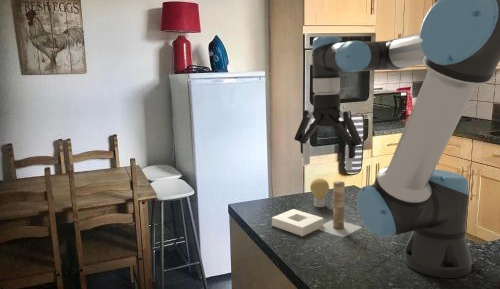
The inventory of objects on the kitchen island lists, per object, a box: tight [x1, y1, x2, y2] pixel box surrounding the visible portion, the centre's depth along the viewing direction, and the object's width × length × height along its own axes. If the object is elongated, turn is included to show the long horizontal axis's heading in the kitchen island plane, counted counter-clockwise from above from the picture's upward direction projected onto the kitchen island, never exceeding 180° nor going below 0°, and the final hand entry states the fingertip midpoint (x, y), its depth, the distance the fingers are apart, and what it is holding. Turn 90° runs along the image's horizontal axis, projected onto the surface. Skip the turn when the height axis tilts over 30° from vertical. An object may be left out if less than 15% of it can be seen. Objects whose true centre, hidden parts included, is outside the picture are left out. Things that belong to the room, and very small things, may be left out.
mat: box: [318, 219, 363, 238], centre depth 126 cm, size 10×10×1 cm
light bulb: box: [309, 177, 330, 208], centre depth 145 cm, size 6×6×10 cm
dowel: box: [332, 180, 346, 230], centre depth 125 cm, size 3×3×14 cm
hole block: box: [271, 208, 325, 237], centre depth 128 cm, size 12×10×3 cm
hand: (326, 166), depth 122 cm, fingers open, 13 cm apart
